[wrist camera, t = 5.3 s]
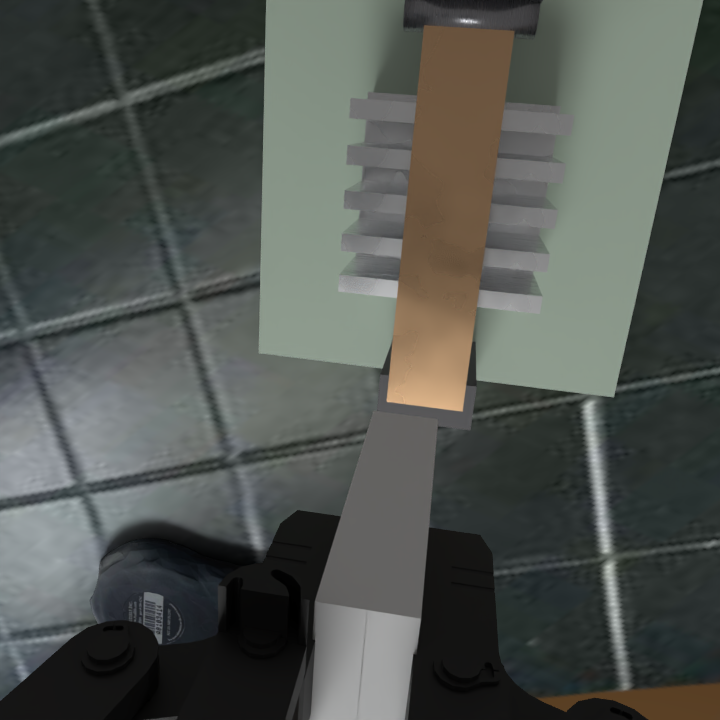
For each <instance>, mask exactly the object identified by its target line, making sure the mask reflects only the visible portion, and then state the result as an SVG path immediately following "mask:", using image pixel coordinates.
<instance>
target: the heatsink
mask: <svg viewBox="0 0 720 720" xmlns="http://www.w3.org/2000/svg"><path fill="white" fill-rule="evenodd" d="M416 101H417V96H416V95H403V94H389V93H376V92H368V99H358V98H350V113H349V118H353V119H365V120H366V127H365V141H364V142H359V143H355V144H350V145H347V161H346V165H357V166H363V169H362V181H360V182H358V183H356V184H355V185H353V186H351V187H349V188H348V189H346V190H345V192H344V208H343V209H351V210H359V218H358V219H357V220H356V221H355V222H354V223H353V224H352V225H351V226H350V227H348V228H347V229H346V230H345V231H344V232H343V233H342V240H341V251H345V252H355V253H356V255H355V256H354V258H353V259H352V260H351V261H350V262H349V264H348V265H347V266H346V267H345V268H344V270H343V271H342V272H341V273H340V274H339V287H338V292H347V293H356V294H365V295H374V296H383V297H392V298H397V292H398V282H399V272H400V262H401V252H402V242H403V231H404V221H405V211H406V201H407V191H408V181H409V171H410V161H411V151H412V141H413V131H414V121H415V111H416ZM560 109H561V106H550V105H537V104H523V103H510V102H505V105H504V112H503V119H502V127H501V134H500V141H499V149H498V156H497V163H496V171H495V178H494V185H493V192H492V200H491V207H490V214H489V222H488V229H487V236H486V244H485V251H484V258H483V266H482V273H481V280H480V287H479V295H478V302H477V307H481V308H490V309H499V310H508V311H517V312H526V313H535V314H540V310H541V304H542V298H543V296H542V293H541V291H540V288H539V286H538V284H537V281H536V279H535V276H534V274H533V271H537V272H547V270H548V264H549V258H550V253H549V251H548V250H547V248H546V246H545V245H544V243H543V241H542V239H541V238H540V236H539V234H540V229H541V228H548V229H555V224H556V218H557V212H558V210H557V209H556V208H555V206H554V205H553V204H552V203H551V202H550V201H549V200H548V199H547V198H546V193H547V187H548V182H550V183H561V184H563V178H564V172H565V166H566V163H564V162H561V161H559V160H557V159H555V158H553V151H554V145H555V139H556V135H566V136H571V132H572V126H573V121H574V115H568V114H560Z"/></svg>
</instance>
